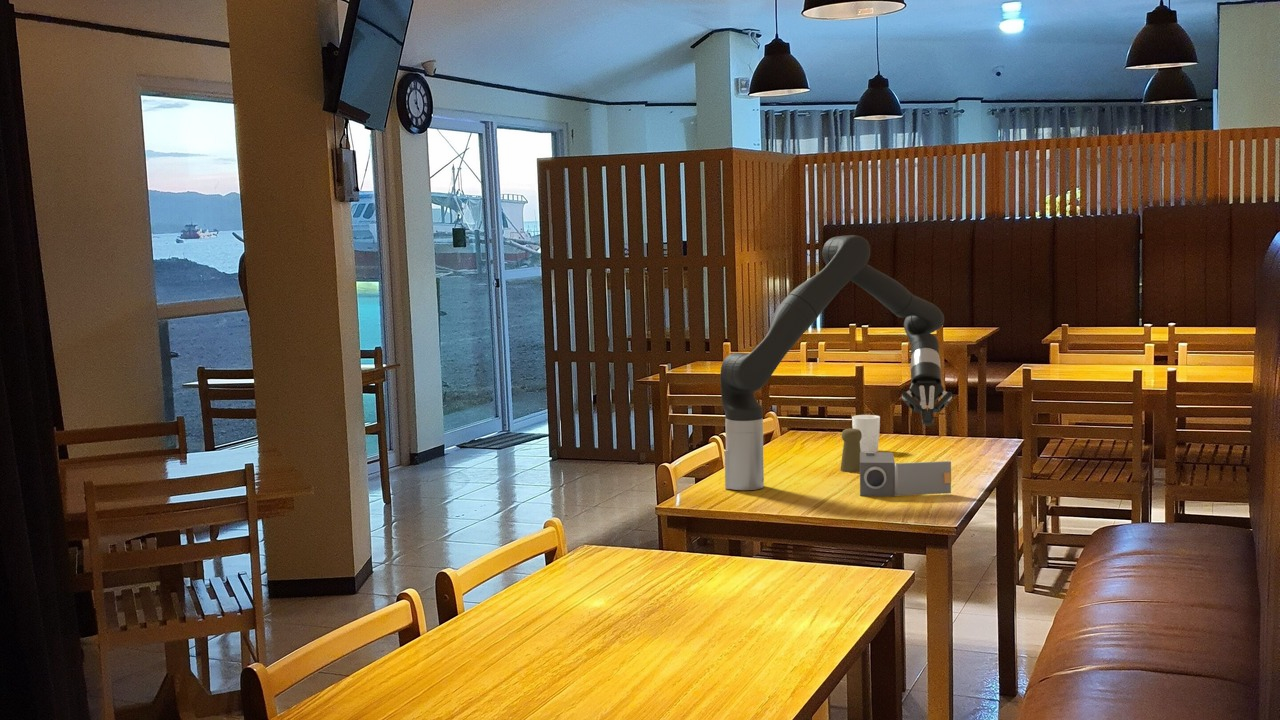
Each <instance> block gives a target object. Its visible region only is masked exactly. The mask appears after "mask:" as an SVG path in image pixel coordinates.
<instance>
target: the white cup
mask: <svg viewBox="0 0 1280 720" xmlns="http://www.w3.org/2000/svg"><path fill="white" fill-rule="evenodd" d="M851 421H852V423H851V425H852V428H853V429H858V430H860V431H861V434H862V438H861V440H860V449H861V452H879V443H880V442H879V441H880V427H881V416H880V415H875V414H857V415H852V416H851Z"/></svg>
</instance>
